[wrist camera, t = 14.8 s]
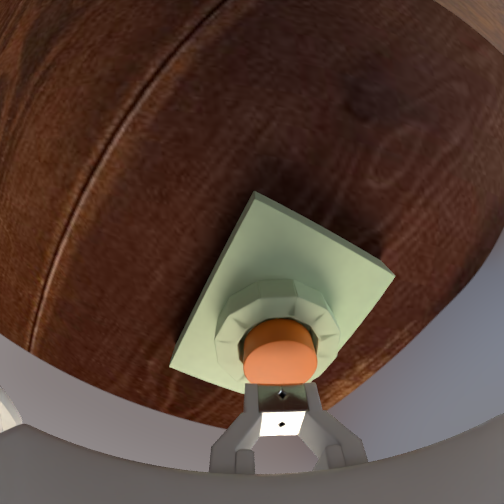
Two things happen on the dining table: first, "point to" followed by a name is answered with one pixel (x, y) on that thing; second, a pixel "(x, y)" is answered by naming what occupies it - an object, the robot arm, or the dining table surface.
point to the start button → (279, 353)
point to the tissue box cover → (481, 17)
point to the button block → (277, 292)
